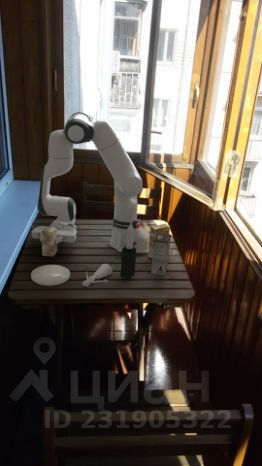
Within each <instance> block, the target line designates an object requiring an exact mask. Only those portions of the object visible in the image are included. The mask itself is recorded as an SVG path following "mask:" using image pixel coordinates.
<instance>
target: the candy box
mask: <svg viewBox="0 0 262 466" xmlns="http://www.w3.org/2000/svg"><path fill="white" fill-rule="evenodd" d="M170 230H171V226H170V225H169V224H166V223H162V224H158V225H154V226H153V225H152V226H150V231H149V236H150V240H149V252H148V253H147V254H148V255H147V256H148V258H151V259H152V257H153V247H154V239H155V237H156V234H157V233H163V234H170V232H171V231H170Z"/></svg>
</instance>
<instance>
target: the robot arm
mask: <svg viewBox="0 0 262 466" xmlns="http://www.w3.org/2000/svg"><path fill="white" fill-rule="evenodd" d="M90 142H92V144H94V146H95V147H96V150H97V151H98V153H99V155H100V157H101V159H102V161H103V162H104V164H105V166H106V168H107V169H108V171H109V173H110V175H111V177H112V178H113V182H114V184H113V186H114V187H113V189H114V193H113V194H114V209H113V210H114V212H113V214H114V215H113V218H112V232H111V237H110V240H109V242H108V243H109V246H110V247H112V248H113V249H115V250H117V252H120V253H122V249H123V248H124V246H126V239H127V229H128V227H129V225H130V222H132V226H133V228H134V240H133V246H134V247H135V248H136V254H148V252H149V240H150V232H148V231H147V230H146V229H144V228H143V227H142V226H141V219H140V218H137V217H138V195H140V193H141V192H142V190H143V185H144V184H143V179H142V177H141V175H140V173H139V172H138V169H137V168H136V166H135V165H134V163H133V160H132V159H131V158H130V156H129V154H128V153H127V150H126V149H125V146H124V145H123V143H122V141H121V139H120V136H118V134H117V132H116V130H115V129H114V128H113V126H112V125H111V124H110V122H109V121H107V120H106V119H98V120H96V121H92V120H91V118H90V117H89V115H88V114H86V113H84V112H80V111H79V112H73V114H72V115H70V116H69V117H68V119H67V121H66V122H65V126H64V128H63V129H56V130H54V131H52V132H51V133H50V135H49V139H48V161H47V163H45V164H44V165H43V167H42V169H41V173H40V175H41V176H40V183H39V194H38V199H37V204H36V206H37V207H36V209H37V211H38V212H39V214H41V216H43V217H44V216H45V217H46V216H48V217H49V216H53V217H56V219H55V220H54V221H53V222H52V223H51V224H50V225H49V227H54V228H57V239H55V240H54V243H55V244H57V245H58V244H59V243H62V242H63V243H70V244H71V243H72V244H73V243H75V242H76V240H77V231H78V230H77V225H75V222H76V217H77V211H78V209H77V203H76V202H75V200H74V199H73V197H68V196H67V197H66V196H58V195H51V194H50V189H51V179H52V178H56V177H58V176H62V175H64V174H67V173H68V172H70V171H71V169H72V168H73V166H74V145H81V144H85V143H90ZM45 227H47V226H45V225H40V226H37V227H35V228H33V229H32V231H31V237H32V238H33V239H36V240H37V239H39V241H40V242H41V243H42V230H43V229H44V228H45Z"/></svg>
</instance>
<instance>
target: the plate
mask: <svg viewBox="0 0 262 466" xmlns="http://www.w3.org/2000/svg"><path fill="white" fill-rule="evenodd" d="M30 278H31V281H32V282H34V283H35V284H38V285H39V286H43V287H54V286H59V285H62V284H64V283H67V282H68V281H69V280H70V278H71V271H70V270H69V269H68V268H67V267H65V266H62V265H59V264H45V265H42V266H38V267H36V268H34V269H33V270H32V271H31V273H30Z"/></svg>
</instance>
